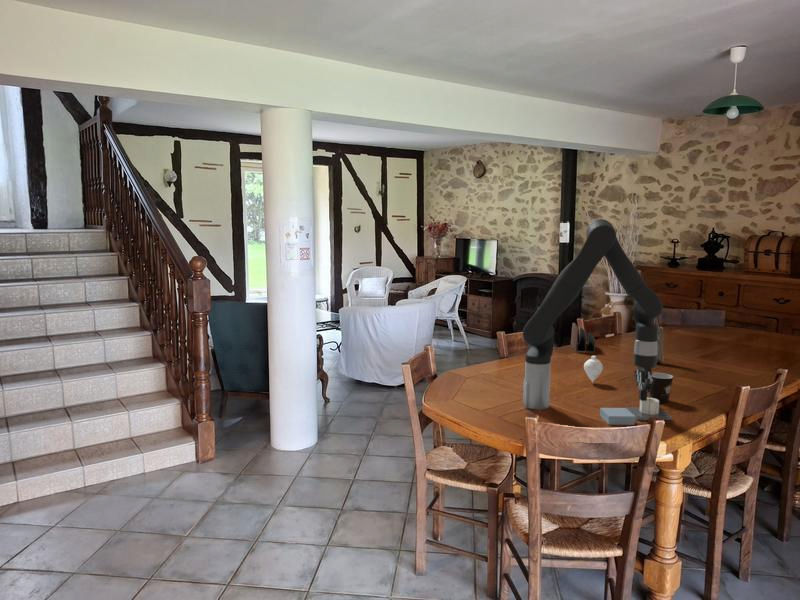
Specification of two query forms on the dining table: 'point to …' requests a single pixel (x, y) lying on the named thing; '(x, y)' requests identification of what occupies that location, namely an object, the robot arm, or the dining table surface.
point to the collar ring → (649, 406)
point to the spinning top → (593, 368)
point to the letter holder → (582, 340)
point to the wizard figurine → (659, 342)
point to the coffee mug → (661, 387)
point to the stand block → (617, 416)
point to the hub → (645, 417)
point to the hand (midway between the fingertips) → (642, 399)
